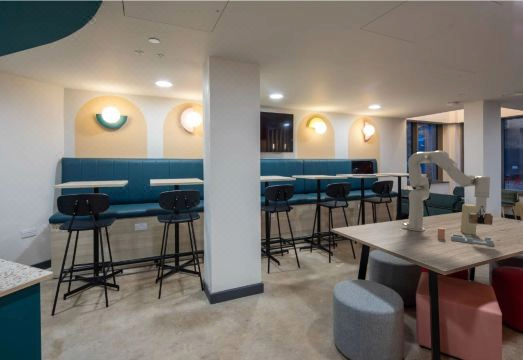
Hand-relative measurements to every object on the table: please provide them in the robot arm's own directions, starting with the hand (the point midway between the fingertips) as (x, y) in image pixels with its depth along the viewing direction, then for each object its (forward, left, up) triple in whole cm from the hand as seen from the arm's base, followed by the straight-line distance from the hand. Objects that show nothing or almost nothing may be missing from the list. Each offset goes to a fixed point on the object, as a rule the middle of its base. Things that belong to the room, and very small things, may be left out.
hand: (480, 222), depth 183 cm
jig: (-4, 0, -14) cm, 14 cm away
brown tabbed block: (0, 0, -1) cm, 1 cm away
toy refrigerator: (-4, +25, -14) cm, 28 cm away
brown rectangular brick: (-21, -2, -14) cm, 25 cm away
